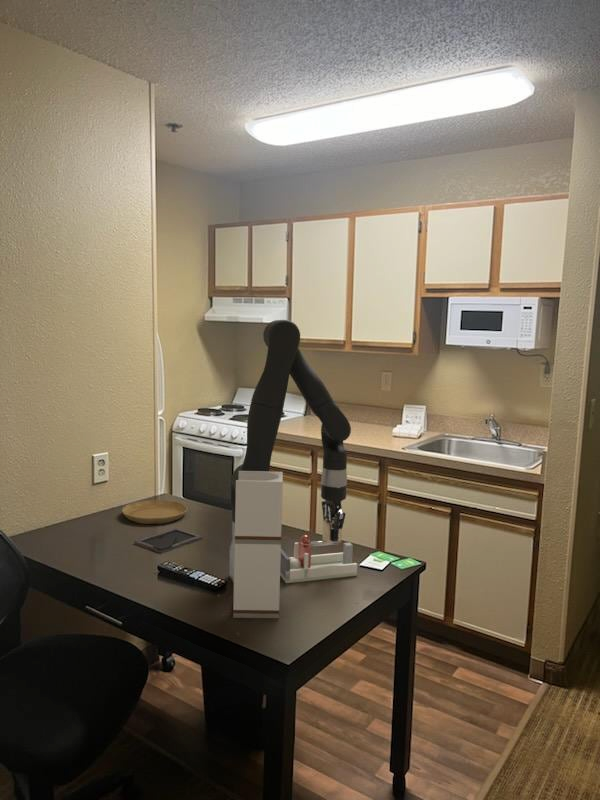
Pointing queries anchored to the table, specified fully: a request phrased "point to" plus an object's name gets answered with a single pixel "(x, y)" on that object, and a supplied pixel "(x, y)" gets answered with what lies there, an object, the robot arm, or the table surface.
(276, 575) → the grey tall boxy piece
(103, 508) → the table surface
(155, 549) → the picture frame
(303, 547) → the striker
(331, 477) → the robot arm
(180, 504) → the plant saucer
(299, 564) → the ball
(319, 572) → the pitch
